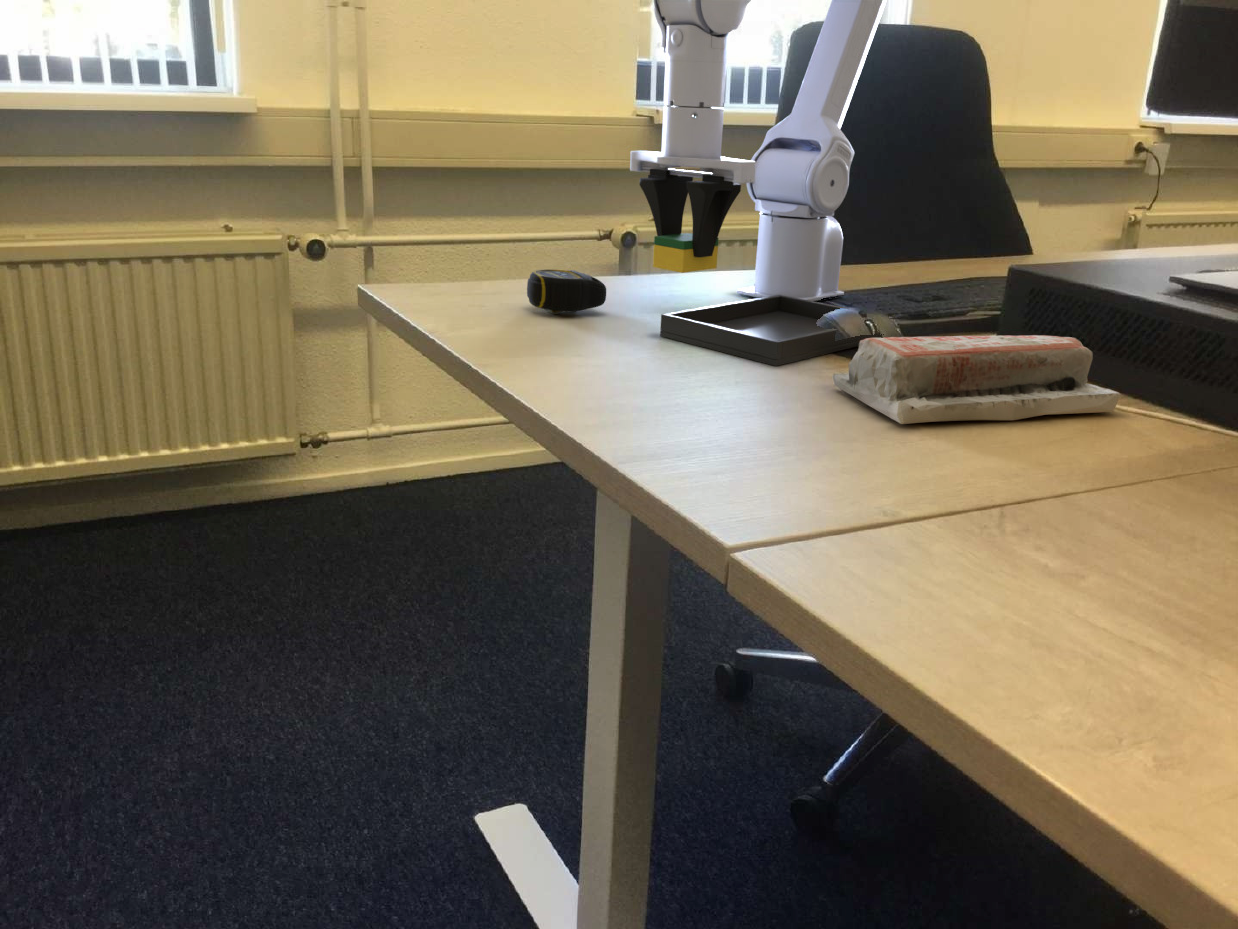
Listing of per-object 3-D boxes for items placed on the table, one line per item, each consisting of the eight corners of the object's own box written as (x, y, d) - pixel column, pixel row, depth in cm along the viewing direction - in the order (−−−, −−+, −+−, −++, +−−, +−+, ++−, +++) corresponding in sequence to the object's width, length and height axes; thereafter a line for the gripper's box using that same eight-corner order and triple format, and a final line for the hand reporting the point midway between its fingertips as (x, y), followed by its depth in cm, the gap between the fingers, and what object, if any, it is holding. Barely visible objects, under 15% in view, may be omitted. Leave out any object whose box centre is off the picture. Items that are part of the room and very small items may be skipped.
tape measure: (608, 315, 101) (610, 277, 100) (544, 320, 98) (545, 280, 97) (577, 302, 107) (578, 266, 106) (516, 306, 104) (516, 268, 103)
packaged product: (909, 358, 68) (836, 326, 77) (900, 429, 70) (830, 389, 79) (1132, 349, 73) (1040, 319, 82) (1119, 415, 75) (1030, 379, 84)
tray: (777, 314, 105) (779, 294, 104) (891, 338, 96) (893, 317, 96) (659, 335, 94) (660, 314, 93) (775, 366, 85) (778, 342, 84)
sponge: (687, 262, 106) (688, 232, 105) (716, 268, 103) (718, 237, 102) (652, 267, 102) (654, 236, 101) (682, 272, 100) (684, 241, 99)
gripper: (609, 103, 100) (605, 246, 105) (724, 109, 90) (714, 267, 95) (660, 104, 105) (654, 241, 109) (774, 110, 95) (762, 260, 99)
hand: (685, 253), depth 102 cm, fingers closed on sponge, 4 cm apart
